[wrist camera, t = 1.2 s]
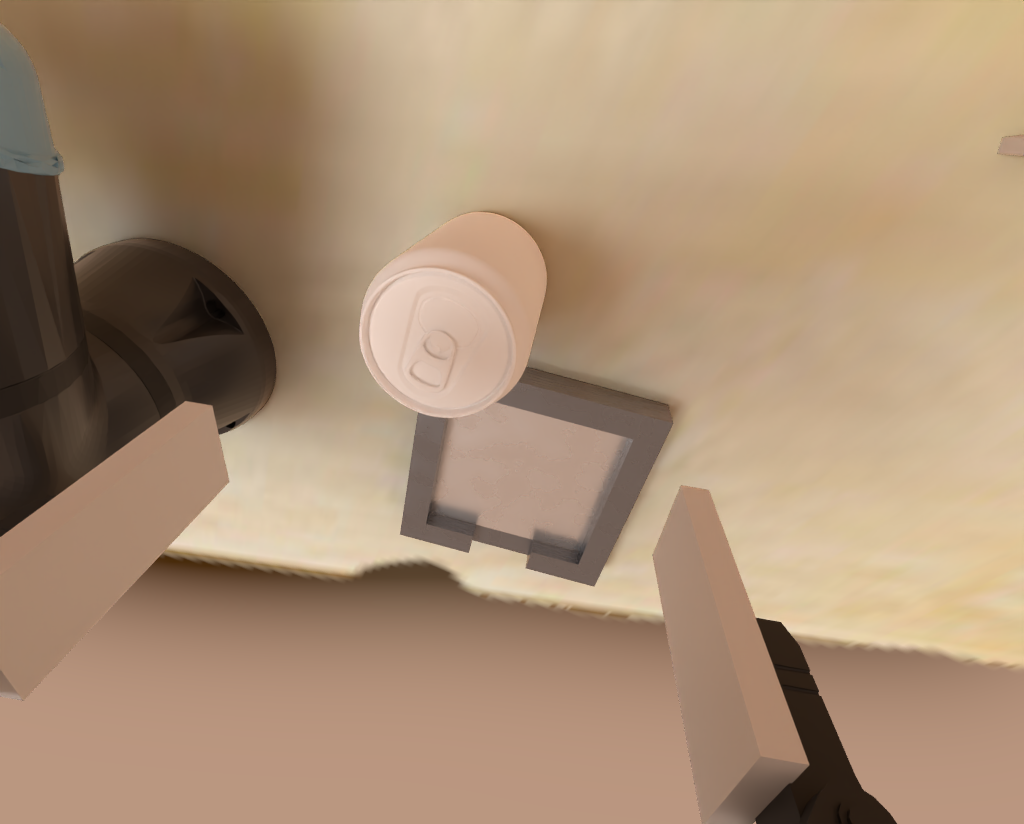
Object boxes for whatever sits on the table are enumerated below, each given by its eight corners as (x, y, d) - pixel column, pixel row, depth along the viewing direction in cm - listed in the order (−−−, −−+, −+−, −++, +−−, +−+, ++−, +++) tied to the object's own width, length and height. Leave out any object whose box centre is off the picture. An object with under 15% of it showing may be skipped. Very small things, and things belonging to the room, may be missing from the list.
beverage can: (570, 248, 30) (561, 313, 20) (514, 354, 34) (482, 452, 24) (451, 185, 29) (378, 218, 19) (408, 301, 33) (328, 380, 23)
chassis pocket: (409, 514, 44) (400, 534, 41) (436, 342, 35) (426, 357, 33) (593, 563, 44) (594, 586, 41) (668, 404, 35) (673, 423, 33)
